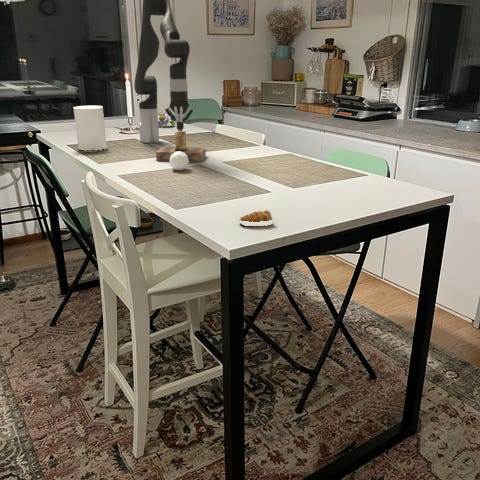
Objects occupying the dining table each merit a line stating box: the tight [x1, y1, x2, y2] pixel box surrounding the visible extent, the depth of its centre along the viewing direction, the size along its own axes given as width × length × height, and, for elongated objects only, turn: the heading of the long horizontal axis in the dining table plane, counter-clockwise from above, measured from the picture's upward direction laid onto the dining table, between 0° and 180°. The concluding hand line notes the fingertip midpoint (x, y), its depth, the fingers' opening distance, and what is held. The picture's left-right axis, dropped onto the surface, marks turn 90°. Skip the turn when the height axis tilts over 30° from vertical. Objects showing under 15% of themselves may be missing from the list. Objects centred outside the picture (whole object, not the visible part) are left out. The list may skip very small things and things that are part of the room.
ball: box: [169, 151, 190, 171], centre depth 200 cm, size 8×8×8 cm
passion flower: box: [158, 110, 176, 129], centre depth 306 cm, size 11×11×12 cm
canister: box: [73, 105, 108, 151], centre depth 239 cm, size 14×14×20 cm
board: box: [155, 146, 207, 163], centre depth 221 cm, size 20×12×4 cm, turn 83°
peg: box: [174, 130, 187, 151], centre depth 219 cm, size 4×4×12 cm
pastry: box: [239, 210, 273, 222], centre depth 141 cm, size 9×7×4 cm
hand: (180, 130), depth 217 cm, fingers closed
